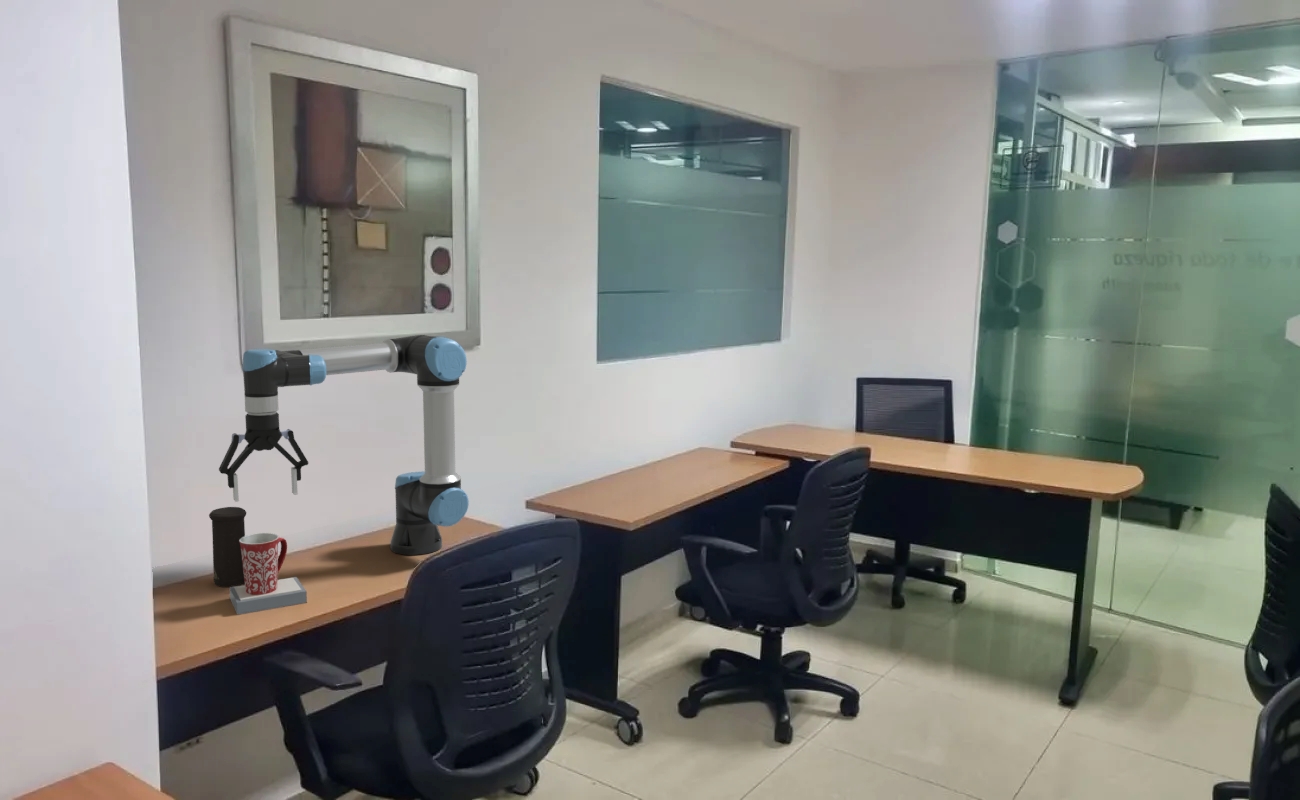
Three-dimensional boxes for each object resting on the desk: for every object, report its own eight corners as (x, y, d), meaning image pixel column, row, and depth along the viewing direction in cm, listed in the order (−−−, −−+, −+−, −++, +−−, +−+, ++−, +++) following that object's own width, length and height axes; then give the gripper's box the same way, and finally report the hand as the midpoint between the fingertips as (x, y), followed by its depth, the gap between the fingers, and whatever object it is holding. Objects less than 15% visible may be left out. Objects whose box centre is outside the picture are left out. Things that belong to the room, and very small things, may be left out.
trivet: (296, 587, 233) (296, 575, 232) (306, 602, 223) (306, 590, 222) (230, 598, 224) (229, 586, 223) (237, 614, 214) (236, 601, 213)
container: (235, 573, 242) (232, 502, 239) (256, 580, 237) (253, 508, 234) (205, 583, 234) (201, 509, 231) (226, 590, 230) (222, 515, 227)
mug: (259, 599, 216) (256, 545, 214) (233, 592, 219) (230, 539, 217) (300, 583, 227) (298, 532, 225) (275, 577, 231) (273, 527, 229)
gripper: (311, 406, 227) (314, 487, 230) (203, 414, 213) (208, 499, 216) (318, 411, 221) (321, 494, 224) (207, 418, 207) (212, 506, 210)
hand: (265, 497), depth 220 cm, fingers open, 13 cm apart
